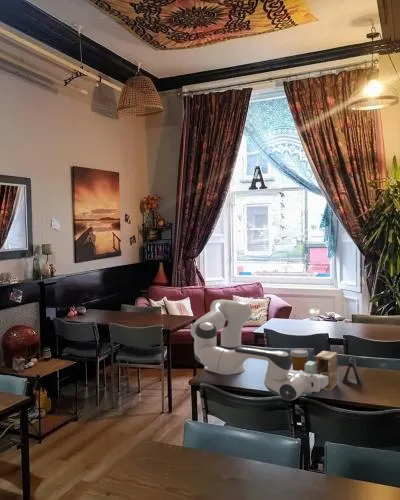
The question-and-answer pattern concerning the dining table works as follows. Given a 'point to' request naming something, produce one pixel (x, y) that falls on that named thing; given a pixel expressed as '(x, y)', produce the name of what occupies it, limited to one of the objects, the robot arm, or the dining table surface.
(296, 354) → the disposable coffee cup
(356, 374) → the dark grey triangular stand
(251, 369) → the dining table surface
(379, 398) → the dining table surface
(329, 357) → the cabinet
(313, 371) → the pale green block
